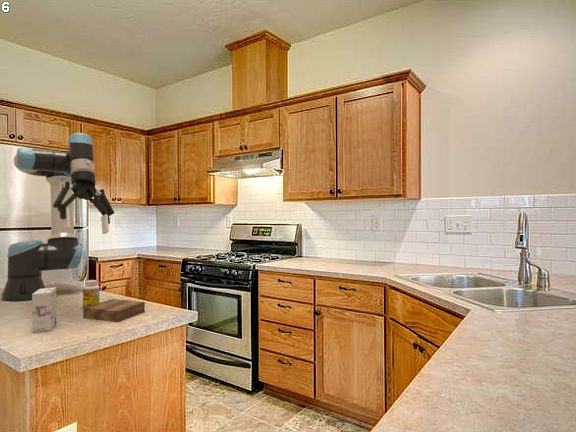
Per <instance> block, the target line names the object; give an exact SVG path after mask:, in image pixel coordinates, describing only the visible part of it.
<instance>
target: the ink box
mask: <svg viewBox="0 0 576 432" xmlns="http://www.w3.org/2000/svg"><path fill="white" fill-rule="evenodd" d="M31 302H32V303H31V309H32V310H31V313H32V314H31V319H32V322H31V323H32V327H31V328H32V329H31V330H32V333H39V332H41V333H42V332H50V331H52V330H53V328H54V327H55V325H56V324H57V287H45V288H43V289H39V290H37V291H36V292H35V293H33V294H32V299H31Z"/></svg>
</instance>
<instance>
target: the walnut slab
mask: <svg viewBox="0 0 576 432" xmlns="http://www.w3.org/2000/svg"><path fill="white" fill-rule="evenodd" d="M145 304H146V302H145V301H137V300H127V299H116V298H111V299H108V300H104V301H101V302H99V303H98V304H94V305H91V306H88V307H84V308H83V307H82V308H83V316H82V318H83V319H88V320H95V321H104V322H105V321H106V322H107V321H108V322H114V323H120V322H122V321H125V320H128V319H129V318H132V317H135V316H137V315H140V314H143V313H145V309H146V305H145Z"/></svg>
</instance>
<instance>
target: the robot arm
mask: <svg viewBox="0 0 576 432" xmlns="http://www.w3.org/2000/svg"><path fill="white" fill-rule="evenodd" d="M13 165H14V166H15V168H16V169H17V170H18V171H20V172H22V173H25V174H27V175H30V176H36V177H45V180H46V182H47V183H48V184H49V185H50V186H49V187H50V221H51V222H50V227H51V228H50V230H51V232H50V233H51V235H50V237H48V238H47V241H46V243H44V242H43V241H42V239H41V240H40V239H35V240H26V241H19V242H14V243H12V244H10V245H9V246H8V250H7V255H6V257H7V275H6V276H7V277H6V278H7V280H6V283H5V285H4V288H3V290H2V293H1V300H2V301H8V302H19V301H20V302H21V301H32V294H33V293H35V292H36V291H37V290H39V289H43V288H46V287H45V284H44V281H43V278H42V273H43V272H44V271H56V270H57V271H58V270H59V271H60V270H71V269H77V268H79V266H80V263H81V260H82V255H83V243H82V242H81V241H79V238H78V236H76V235H75V233H74V231H75V230H74V228H75V226H74V200H76V198H78V199H80V200H85V201H89V202H90V203H92V204H93V206H94V207H95V208H96V209H97V211H98V212H99V213H100V214H101V215H102V216H101V217H100V220H101V221H100V222H101V232H102V235H105V234H108V233H109V232H110V227H109V225H110V224H111V219H110V218H111V216H112V215H114V214H115V210H114V209H113V207H112V205H111V203H110V201H109V200H108V197H107V196H106V193H105V189H103V188H101V189H97V188H96V175H95V173H96V171H95V157H94V144H93V139H92V137H91V135H89V134H86V133H83V132H75V133H72V134H70V136H69V137H68V151H57V150H47V149H39V148H30V147H18V148H17V149H16V154H15V156H14V158H13Z"/></svg>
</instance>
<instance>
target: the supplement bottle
mask: <svg viewBox="0 0 576 432" xmlns="http://www.w3.org/2000/svg"><path fill="white" fill-rule="evenodd" d="M98 303H100V285H98V280H95V279H89V280H85V282H84V286H83V287H82V308H84V307H88V306H91V305H94V304H98Z"/></svg>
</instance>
